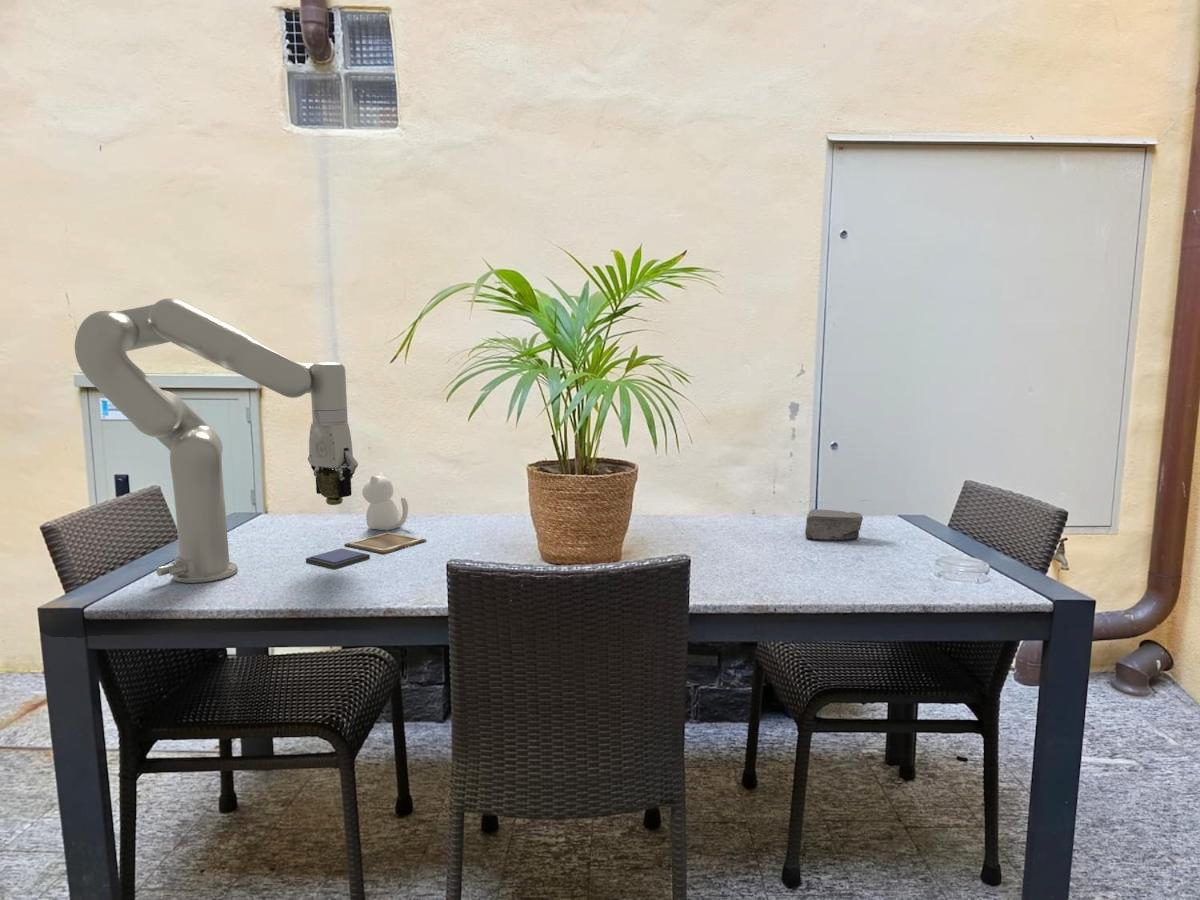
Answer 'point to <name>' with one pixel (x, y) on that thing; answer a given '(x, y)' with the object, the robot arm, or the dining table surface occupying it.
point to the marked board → (385, 542)
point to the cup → (329, 485)
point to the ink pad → (337, 558)
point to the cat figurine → (383, 504)
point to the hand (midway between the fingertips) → (333, 494)
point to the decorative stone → (832, 525)
